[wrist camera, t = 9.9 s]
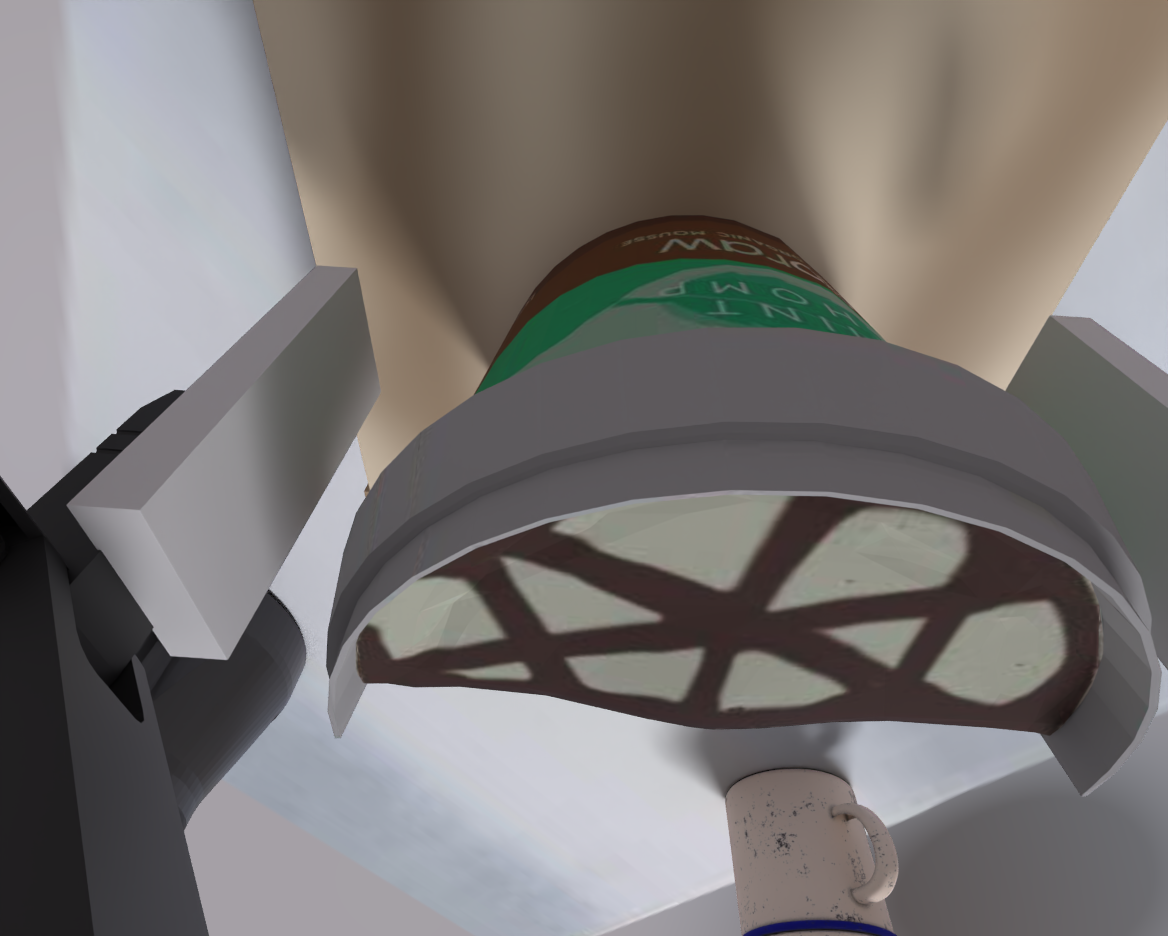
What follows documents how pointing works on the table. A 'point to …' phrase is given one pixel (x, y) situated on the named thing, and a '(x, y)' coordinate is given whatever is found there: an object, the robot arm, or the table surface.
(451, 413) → the food container
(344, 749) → the table surface
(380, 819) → the table surface
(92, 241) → the table surface
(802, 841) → the teacup with lid
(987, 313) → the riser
